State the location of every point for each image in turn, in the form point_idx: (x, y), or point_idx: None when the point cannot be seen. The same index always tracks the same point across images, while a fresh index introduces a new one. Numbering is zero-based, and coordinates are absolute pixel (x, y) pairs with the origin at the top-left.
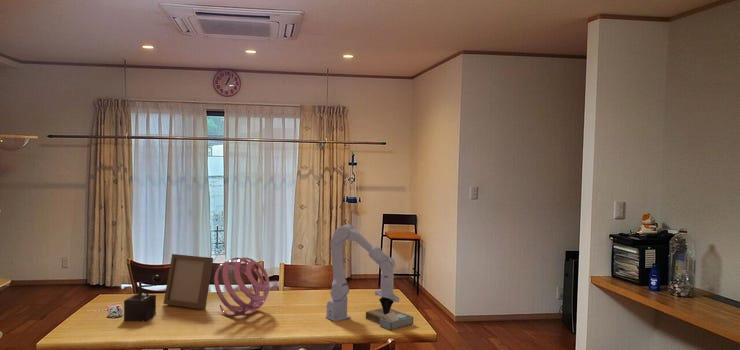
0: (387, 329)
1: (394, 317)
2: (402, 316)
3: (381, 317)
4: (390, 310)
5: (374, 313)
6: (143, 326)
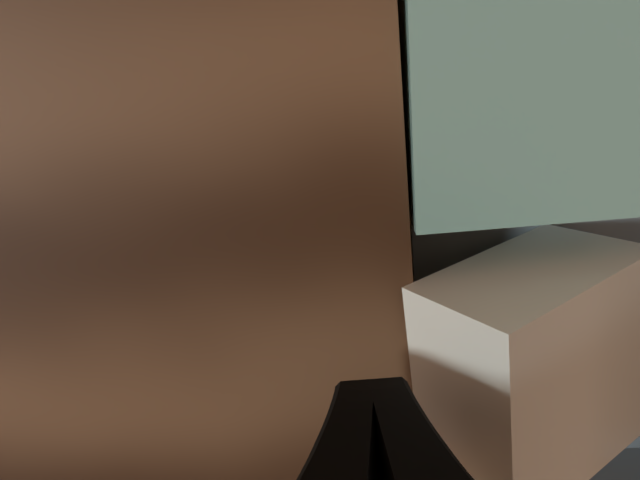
0: None
1: (608, 358)
2: (615, 92)
3: None
4: (23, 43)
5: (100, 451)
6: None
